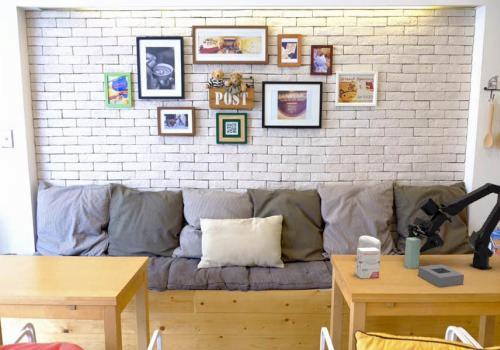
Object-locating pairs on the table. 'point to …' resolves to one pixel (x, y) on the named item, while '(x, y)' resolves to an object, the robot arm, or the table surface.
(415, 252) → the pale green block
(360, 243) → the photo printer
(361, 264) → the ink box
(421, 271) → the grey square socket block
